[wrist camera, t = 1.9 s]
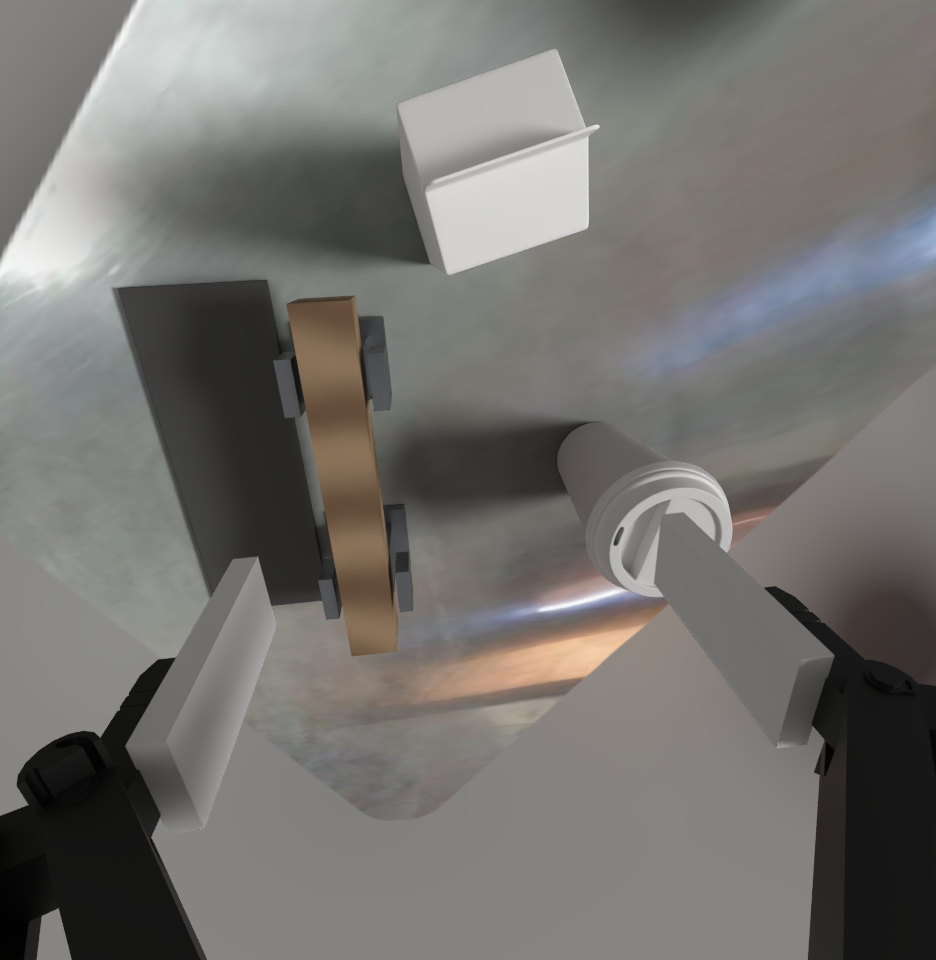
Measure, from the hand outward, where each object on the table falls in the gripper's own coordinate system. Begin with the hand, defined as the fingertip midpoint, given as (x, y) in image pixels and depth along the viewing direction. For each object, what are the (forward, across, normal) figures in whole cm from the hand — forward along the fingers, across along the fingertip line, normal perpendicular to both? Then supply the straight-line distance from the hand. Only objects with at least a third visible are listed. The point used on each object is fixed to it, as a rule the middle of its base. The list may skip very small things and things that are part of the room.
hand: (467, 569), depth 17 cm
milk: (+27, +3, +12) cm, 30 cm away
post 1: (+27, -6, +2) cm, 28 cm away
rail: (+21, -6, -6) cm, 23 cm away
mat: (+27, -16, -6) cm, 32 cm away
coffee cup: (+27, +14, -8) cm, 31 cm away
